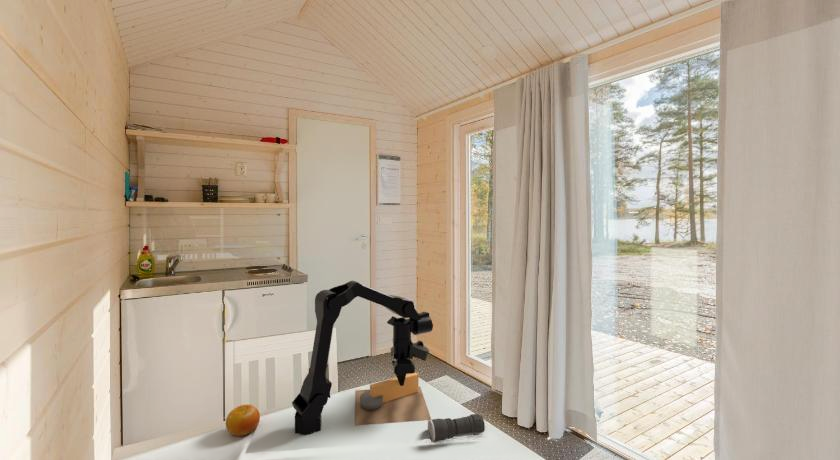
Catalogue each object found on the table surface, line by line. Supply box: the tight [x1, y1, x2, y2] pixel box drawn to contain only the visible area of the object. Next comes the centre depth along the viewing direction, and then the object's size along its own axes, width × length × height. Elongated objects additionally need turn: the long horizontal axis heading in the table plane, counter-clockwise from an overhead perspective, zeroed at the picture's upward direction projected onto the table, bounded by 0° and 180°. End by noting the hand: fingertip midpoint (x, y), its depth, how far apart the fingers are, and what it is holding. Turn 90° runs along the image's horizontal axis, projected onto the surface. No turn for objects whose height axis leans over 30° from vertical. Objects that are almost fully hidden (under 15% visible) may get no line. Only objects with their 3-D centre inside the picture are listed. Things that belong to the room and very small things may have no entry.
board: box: [354, 385, 432, 426], centre depth 126 cm, size 22×22×2 cm
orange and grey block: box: [360, 371, 419, 410], centre depth 129 cm, size 20×7×6 cm, turn 124°
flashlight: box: [427, 413, 486, 443], centre depth 112 cm, size 15×5×5 cm, turn 106°
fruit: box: [225, 404, 261, 437], centre depth 113 cm, size 9×9×8 cm
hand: (401, 385), depth 129 cm, fingers closed
